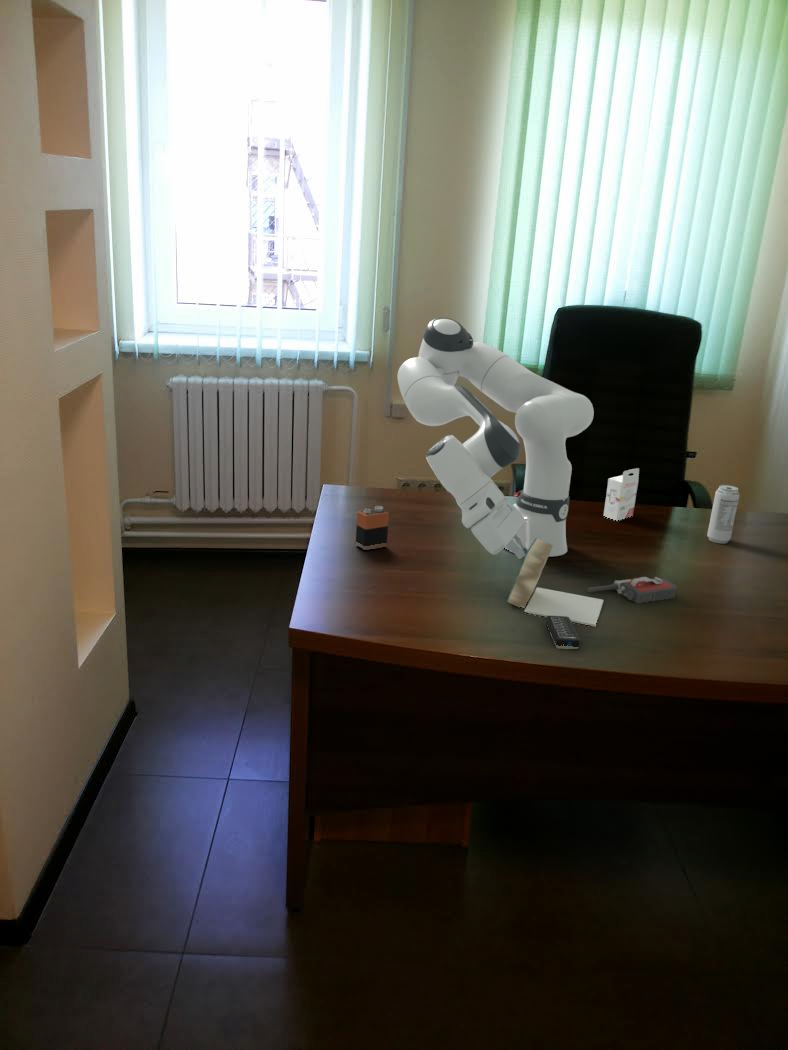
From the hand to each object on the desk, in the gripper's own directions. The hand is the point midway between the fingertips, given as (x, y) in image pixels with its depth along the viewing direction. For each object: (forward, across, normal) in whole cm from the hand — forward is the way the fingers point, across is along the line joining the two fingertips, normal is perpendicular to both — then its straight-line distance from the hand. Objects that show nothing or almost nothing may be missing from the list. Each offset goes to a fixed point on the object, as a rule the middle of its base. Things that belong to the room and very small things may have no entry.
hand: (524, 555), depth 174 cm
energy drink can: (+36, -68, +22) cm, 80 cm away
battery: (-21, -14, -35) cm, 43 cm away
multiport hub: (+16, +14, +1) cm, 21 cm away
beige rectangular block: (+7, 0, -7) cm, 10 cm away
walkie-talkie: (+24, -15, +8) cm, 29 cm away
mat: (+14, 0, 0) cm, 14 cm away
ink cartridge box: (+17, -75, +2) cm, 76 cm away
